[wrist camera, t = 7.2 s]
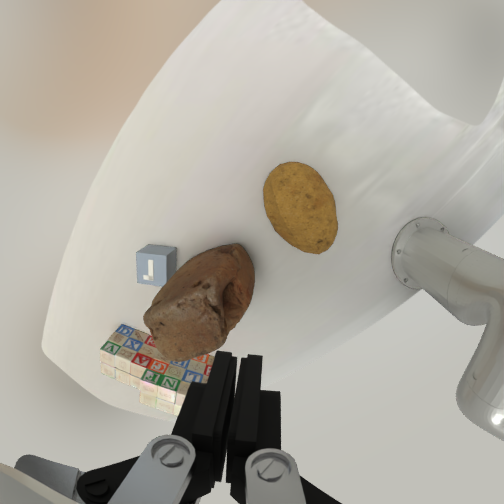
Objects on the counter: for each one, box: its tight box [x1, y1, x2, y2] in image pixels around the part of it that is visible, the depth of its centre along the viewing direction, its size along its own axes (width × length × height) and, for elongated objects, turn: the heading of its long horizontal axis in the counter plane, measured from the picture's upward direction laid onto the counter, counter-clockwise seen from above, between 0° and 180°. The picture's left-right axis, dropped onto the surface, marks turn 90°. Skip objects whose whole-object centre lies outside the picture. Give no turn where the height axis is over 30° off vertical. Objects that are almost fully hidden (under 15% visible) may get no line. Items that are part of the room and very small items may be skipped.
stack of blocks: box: [100, 324, 215, 416], centre depth 45 cm, size 21×6×12 cm, turn 73°
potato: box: [263, 162, 338, 254], centre depth 38 cm, size 10×13×9 cm
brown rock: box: [143, 244, 255, 362], centre depth 36 cm, size 11×8×20 cm
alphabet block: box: [136, 245, 176, 287], centre depth 44 cm, size 5×5×5 cm
